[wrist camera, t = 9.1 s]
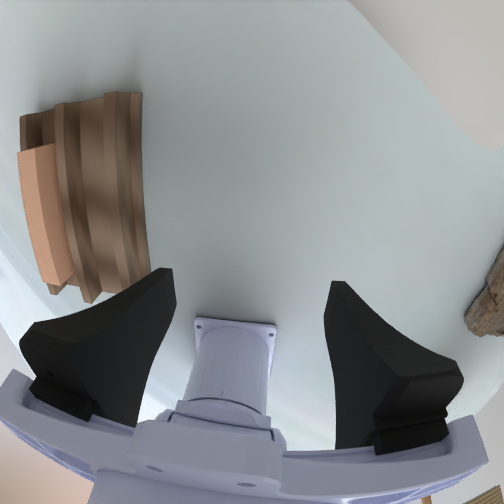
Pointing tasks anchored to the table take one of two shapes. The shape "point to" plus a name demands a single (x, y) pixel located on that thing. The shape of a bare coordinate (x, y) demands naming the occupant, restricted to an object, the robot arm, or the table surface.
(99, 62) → the table surface
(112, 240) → the walnut rack
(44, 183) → the light brown long block
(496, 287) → the brown rock
